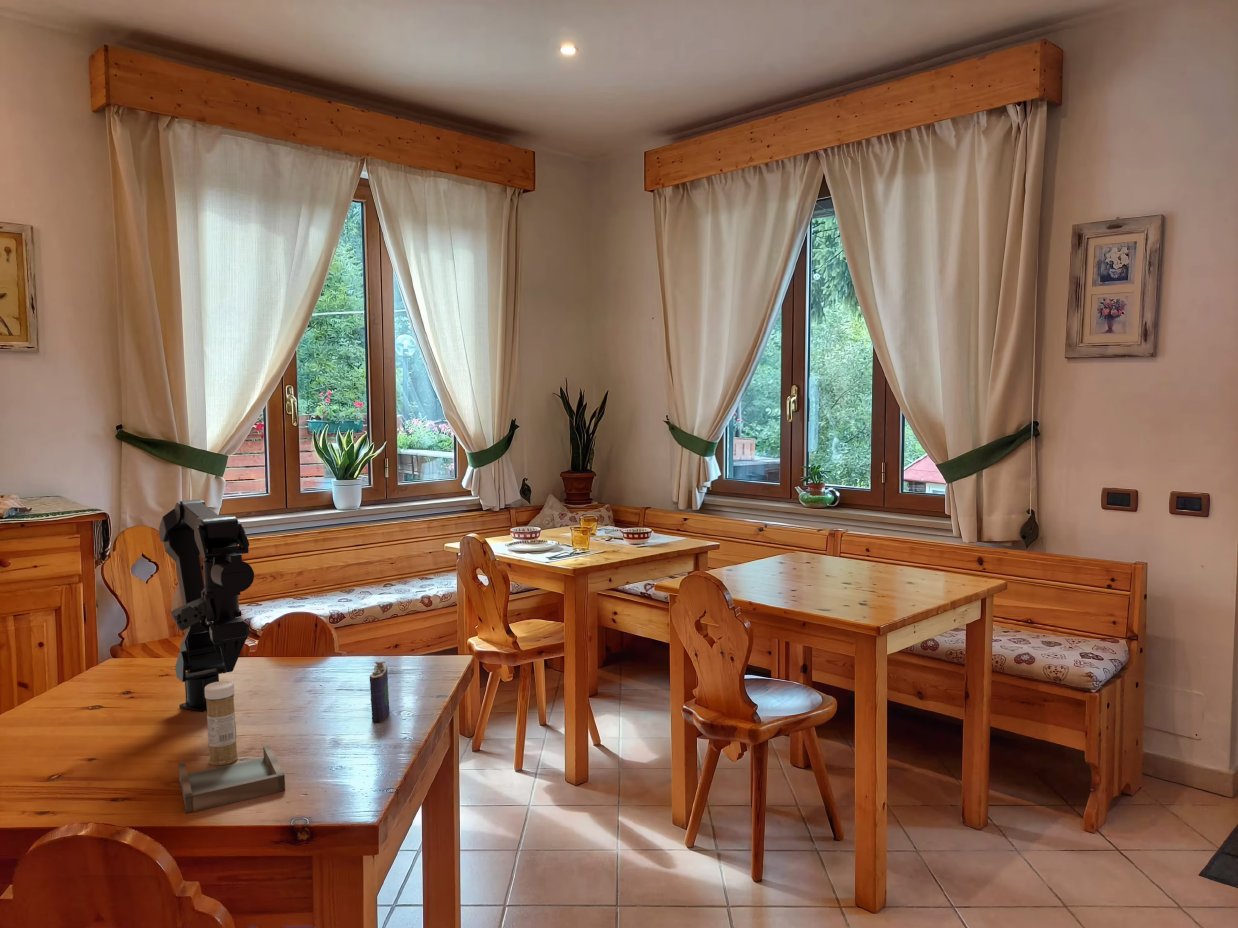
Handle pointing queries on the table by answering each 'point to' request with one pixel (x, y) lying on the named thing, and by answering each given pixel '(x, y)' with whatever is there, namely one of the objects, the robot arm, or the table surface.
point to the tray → (231, 782)
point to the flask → (379, 693)
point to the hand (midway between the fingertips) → (225, 665)
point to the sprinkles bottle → (221, 722)
